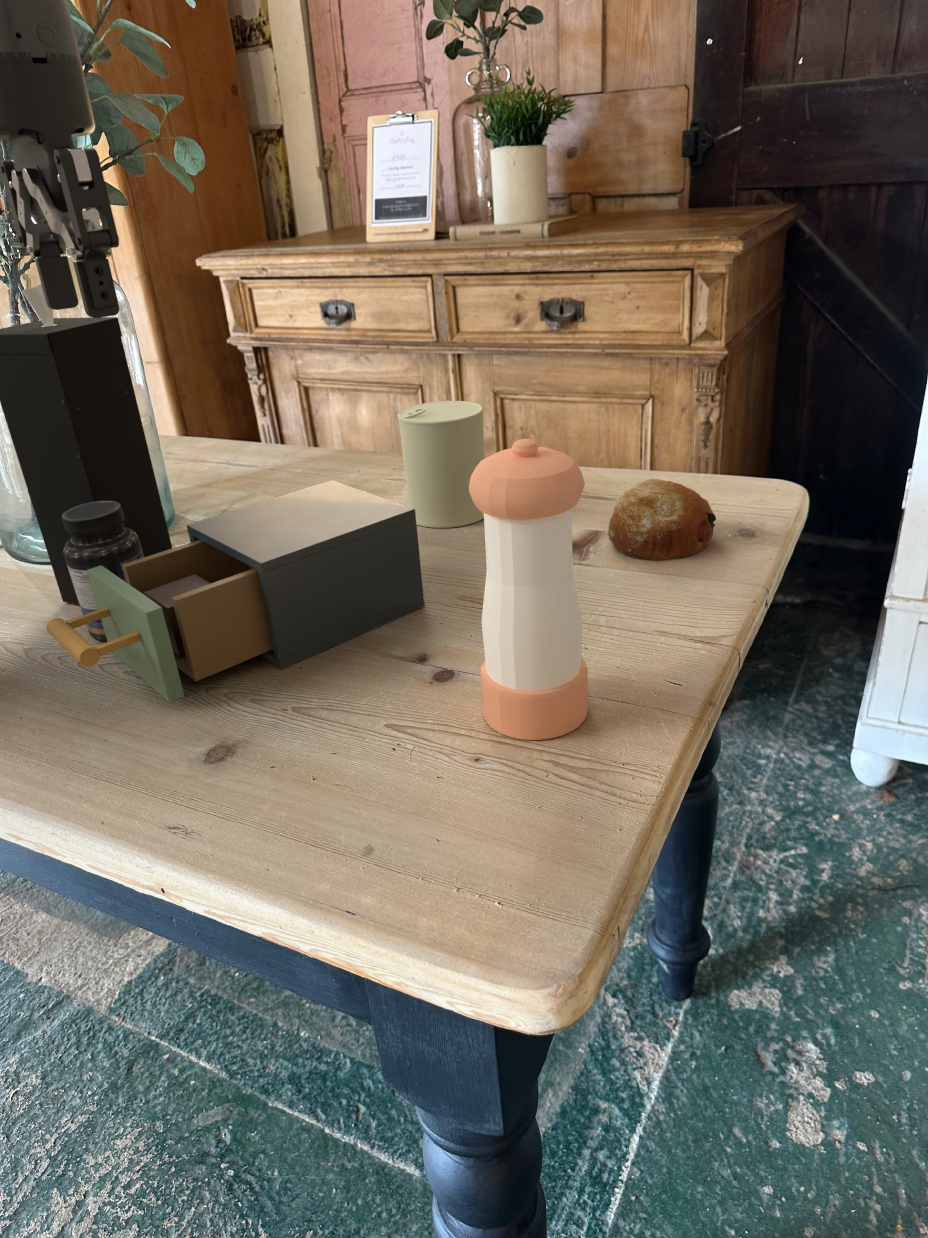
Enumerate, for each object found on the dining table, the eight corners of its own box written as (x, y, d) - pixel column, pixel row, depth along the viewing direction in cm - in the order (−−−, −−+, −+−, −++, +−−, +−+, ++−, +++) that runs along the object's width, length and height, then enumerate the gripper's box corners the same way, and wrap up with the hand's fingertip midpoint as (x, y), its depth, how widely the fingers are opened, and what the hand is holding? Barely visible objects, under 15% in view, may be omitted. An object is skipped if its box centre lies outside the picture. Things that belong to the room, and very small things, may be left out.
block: (180, 659, 66) (167, 608, 64) (156, 641, 69) (143, 591, 67) (231, 638, 69) (220, 588, 67) (206, 622, 72) (195, 573, 70)
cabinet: (281, 669, 68) (260, 563, 64) (208, 620, 76) (186, 524, 72) (425, 606, 76) (415, 508, 72) (344, 568, 85) (331, 479, 80)
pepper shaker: (487, 682, 64) (470, 426, 55) (587, 682, 63) (585, 422, 54) (478, 740, 57) (456, 460, 49) (588, 741, 56) (587, 456, 48)
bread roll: (626, 554, 92) (593, 489, 89) (719, 515, 88) (688, 446, 85) (625, 594, 83) (589, 524, 80) (728, 553, 79) (694, 478, 77)
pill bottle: (148, 605, 80) (118, 492, 75) (170, 627, 76) (140, 508, 71) (80, 627, 77) (44, 510, 72) (99, 651, 73) (62, 528, 68)
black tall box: (61, 603, 82) (-37, 291, 69) (120, 570, 88) (39, 278, 75) (125, 613, 79) (34, 288, 66) (181, 578, 85) (108, 275, 72)
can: (396, 509, 99) (385, 404, 93) (470, 494, 102) (463, 391, 96) (424, 534, 91) (413, 422, 86) (503, 517, 94) (497, 407, 89)
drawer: (108, 728, 60) (80, 636, 57) (54, 672, 68) (26, 588, 65) (325, 635, 70) (311, 553, 67) (256, 596, 78) (241, 520, 75)
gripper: (-68, 67, 60) (3, 313, 67) (-13, 35, 50) (63, 327, 57) (43, 69, 64) (98, 300, 71) (114, 40, 54) (170, 311, 61)
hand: (83, 312), depth 64 cm, fingers open, 8 cm apart
